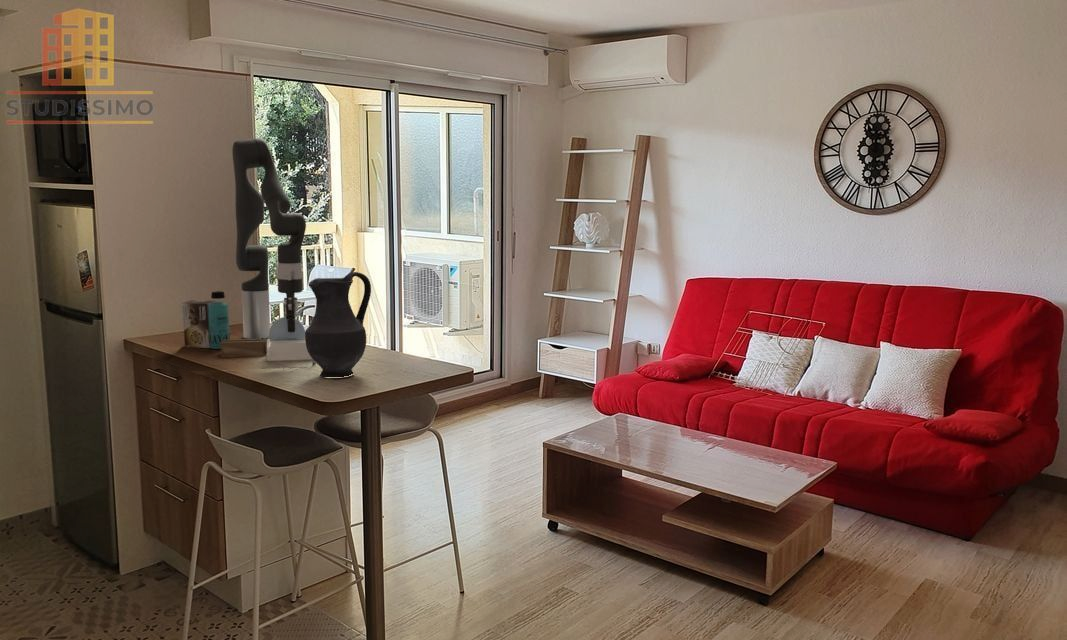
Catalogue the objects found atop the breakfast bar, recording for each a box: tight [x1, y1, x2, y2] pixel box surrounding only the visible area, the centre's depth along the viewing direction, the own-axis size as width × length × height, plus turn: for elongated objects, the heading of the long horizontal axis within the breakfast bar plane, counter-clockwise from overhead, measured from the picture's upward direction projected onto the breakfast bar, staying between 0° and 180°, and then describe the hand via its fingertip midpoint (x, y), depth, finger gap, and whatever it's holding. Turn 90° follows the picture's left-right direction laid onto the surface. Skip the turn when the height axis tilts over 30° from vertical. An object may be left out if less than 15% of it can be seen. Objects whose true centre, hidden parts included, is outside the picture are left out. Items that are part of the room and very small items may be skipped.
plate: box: [268, 316, 306, 342], centre depth 264 cm, size 2×11×11 cm, turn 104°
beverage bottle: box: [208, 290, 231, 350], centre depth 275 cm, size 6×7×20 cm
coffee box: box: [181, 299, 215, 349], centre depth 278 cm, size 9×6×16 cm
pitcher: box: [305, 271, 372, 378], centre depth 244 cm, size 17×21×30 cm
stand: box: [220, 338, 268, 358], centre depth 266 cm, size 6×14×6 cm, turn 104°
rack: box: [266, 339, 317, 364], centre depth 265 cm, size 13×15×6 cm
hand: (291, 331), depth 264 cm, fingers closed on plate, 1 cm apart
